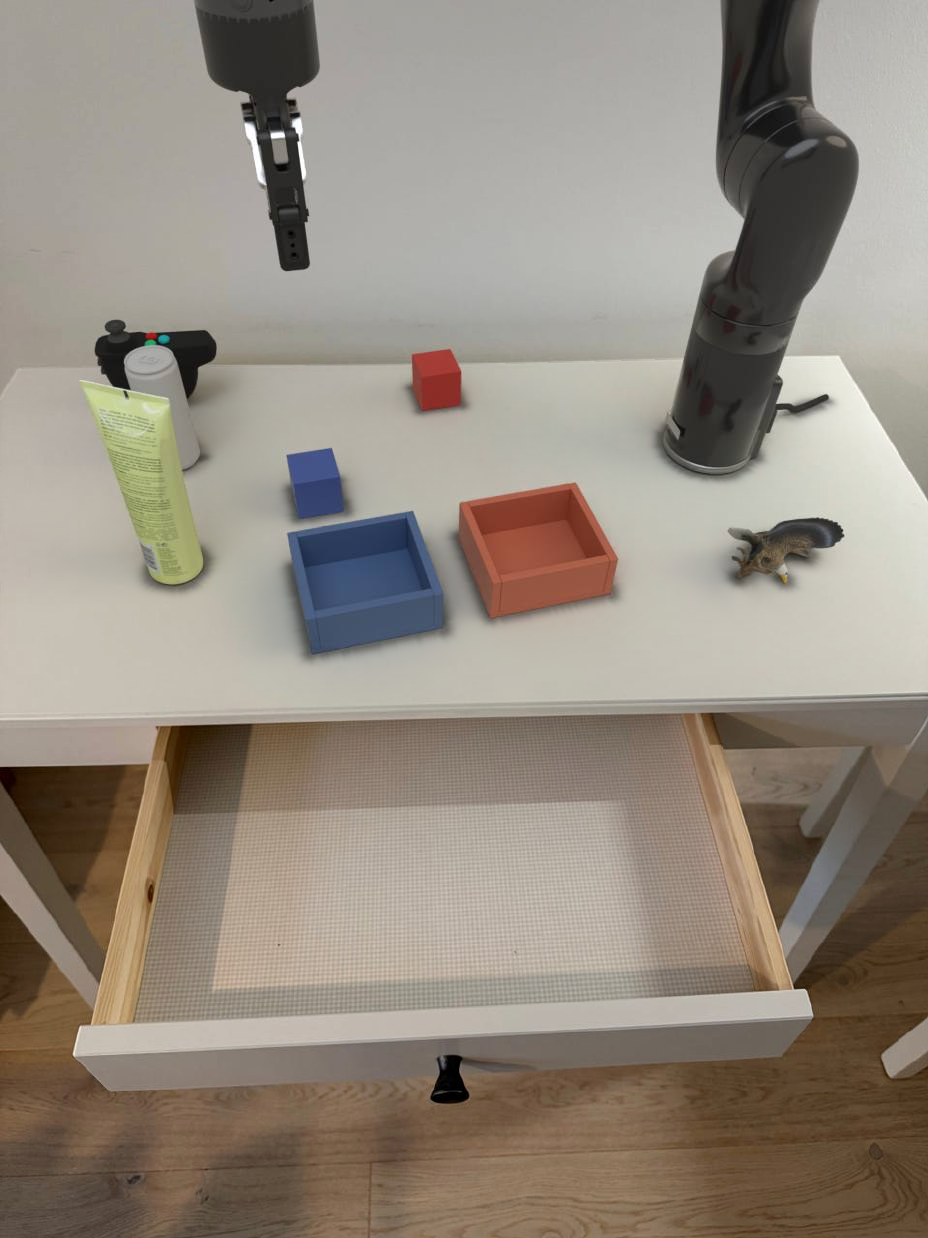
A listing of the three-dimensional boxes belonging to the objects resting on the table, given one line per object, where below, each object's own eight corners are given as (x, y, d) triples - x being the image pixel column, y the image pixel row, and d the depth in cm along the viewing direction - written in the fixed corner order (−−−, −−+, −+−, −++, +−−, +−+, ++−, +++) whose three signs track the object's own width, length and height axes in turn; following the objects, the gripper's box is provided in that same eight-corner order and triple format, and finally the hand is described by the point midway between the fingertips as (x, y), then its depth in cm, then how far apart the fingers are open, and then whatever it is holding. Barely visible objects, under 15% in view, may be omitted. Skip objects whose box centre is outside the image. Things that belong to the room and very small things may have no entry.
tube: (203, 540, 84) (153, 362, 69) (217, 575, 81) (168, 397, 66) (143, 557, 82) (78, 379, 67) (156, 594, 79) (91, 415, 64)
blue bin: (414, 545, 84) (413, 510, 80) (442, 628, 77) (443, 593, 74) (293, 568, 82) (286, 532, 78) (312, 654, 75) (306, 619, 72)
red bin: (570, 517, 87) (576, 481, 84) (610, 593, 80) (618, 558, 77) (458, 537, 85) (459, 502, 81) (490, 618, 78) (492, 583, 75)
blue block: (335, 482, 90) (331, 447, 86) (344, 511, 87) (340, 476, 83) (292, 489, 89) (286, 454, 85) (298, 519, 86) (293, 484, 82)
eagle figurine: (784, 610, 78) (855, 558, 80) (761, 542, 75) (836, 490, 77) (727, 593, 85) (794, 545, 87) (704, 529, 82) (774, 482, 84)
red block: (450, 382, 101) (450, 348, 98) (460, 405, 99) (461, 370, 95) (412, 388, 100) (411, 353, 97) (422, 411, 98) (421, 376, 94)
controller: (115, 396, 98) (88, 314, 91) (227, 387, 100) (210, 306, 92) (112, 419, 95) (84, 337, 88) (227, 409, 97) (209, 328, 89)
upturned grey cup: (190, 477, 90) (162, 376, 80) (146, 470, 90) (113, 369, 81) (208, 447, 93) (183, 347, 84) (165, 441, 93) (136, 341, 84)
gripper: (326, 24, 52) (351, 282, 64) (299, -41, 61) (325, 196, 73) (197, 33, 51) (247, 293, 63) (189, -35, 60) (234, 205, 72)
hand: (289, 241), depth 68 cm, fingers open, 8 cm apart
